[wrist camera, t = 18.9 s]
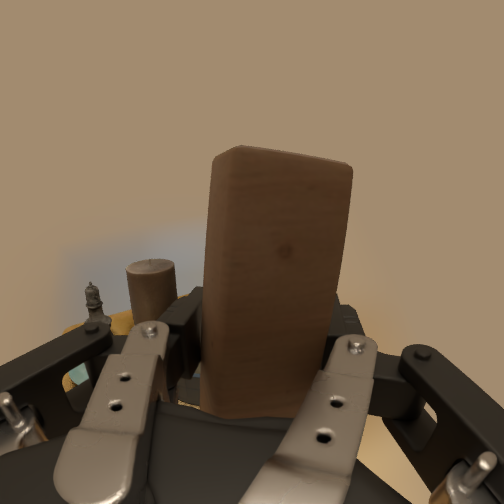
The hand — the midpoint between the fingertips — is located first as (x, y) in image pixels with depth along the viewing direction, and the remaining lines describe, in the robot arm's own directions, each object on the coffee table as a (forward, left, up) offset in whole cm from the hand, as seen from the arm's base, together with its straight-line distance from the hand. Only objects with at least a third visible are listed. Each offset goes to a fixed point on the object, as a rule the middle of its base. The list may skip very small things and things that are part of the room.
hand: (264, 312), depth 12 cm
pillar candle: (+26, -37, -25) cm, 52 cm away
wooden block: (-1, +3, -9) cm, 10 cm away
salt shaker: (+36, -30, -25) cm, 53 cm away
